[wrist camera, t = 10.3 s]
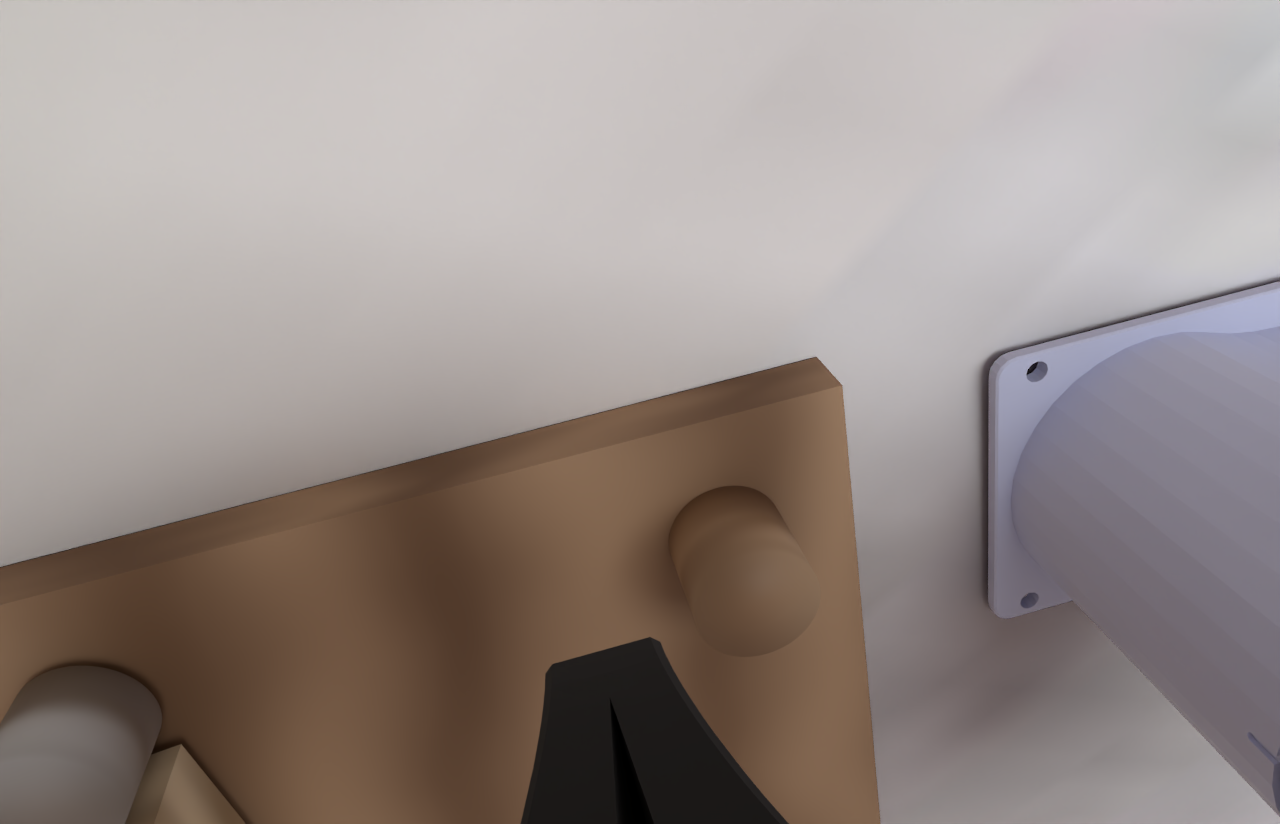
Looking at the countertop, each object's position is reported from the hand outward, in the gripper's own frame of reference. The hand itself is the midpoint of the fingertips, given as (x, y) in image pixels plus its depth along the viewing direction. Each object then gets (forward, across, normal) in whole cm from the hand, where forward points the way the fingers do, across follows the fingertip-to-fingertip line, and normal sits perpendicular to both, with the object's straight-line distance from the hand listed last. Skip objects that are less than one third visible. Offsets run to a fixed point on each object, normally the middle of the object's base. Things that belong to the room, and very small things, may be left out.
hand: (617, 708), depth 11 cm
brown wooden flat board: (+9, +4, +11) cm, 15 cm away
